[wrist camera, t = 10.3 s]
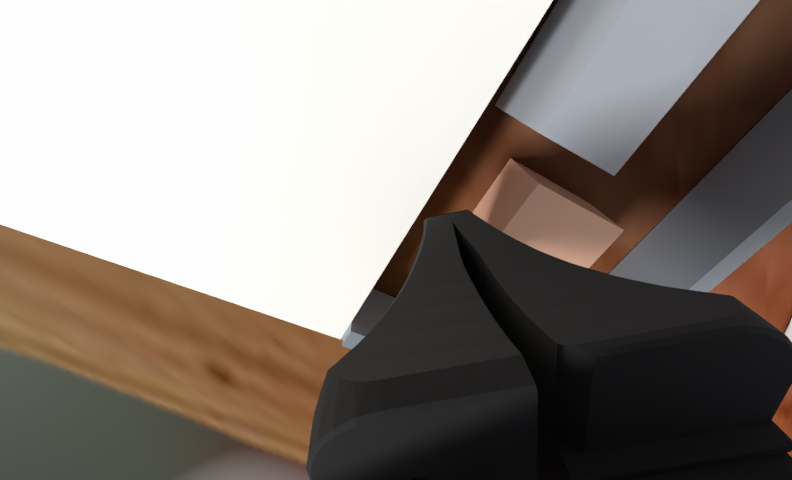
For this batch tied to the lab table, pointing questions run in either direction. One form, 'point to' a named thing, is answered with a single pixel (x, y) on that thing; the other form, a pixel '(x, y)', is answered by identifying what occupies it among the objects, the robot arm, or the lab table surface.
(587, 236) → the peach block
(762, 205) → the grey rectangular frame
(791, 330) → the skincare box
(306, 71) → the board
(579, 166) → the lab table surface
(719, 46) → the grey rectangular block
